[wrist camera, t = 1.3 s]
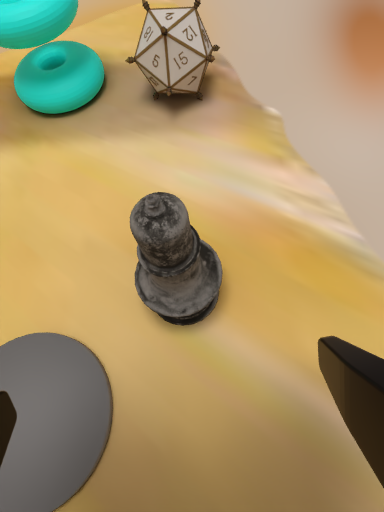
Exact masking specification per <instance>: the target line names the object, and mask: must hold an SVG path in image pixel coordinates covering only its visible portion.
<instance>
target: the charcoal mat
mask: <svg viewBox="0 0 384 512" xmlns="http://www.w3.org/2000/svg"><path fill="white" fill-rule="evenodd" d="M2 390H3V391H6V392H7V393H8V394H9V396H10V398H11V401H12V403H13V405H14V407H15V409H16V412H17V421H16V424H15V427H14V430H13V433H12V436H11V439H10V441H9V444H8V447H7V450H6V453H5V456H4V459H3V462H2V465H1V468H0V512H52V511H54V510H55V509H57V508H58V507H59V506H61V505H62V504H64V503H65V502H66V501H68V500H69V499H70V498H71V497H72V496H73V495H74V494H76V492H77V491H78V490H79V489H80V488H81V487H82V486H83V485H84V484H85V482H86V481H87V479H88V478H89V477H90V475H91V474H92V473H93V471H94V469H95V467H96V466H97V464H98V462H99V460H100V458H101V456H102V453H103V451H104V449H105V446H106V443H107V440H108V437H109V432H110V427H111V422H112V411H113V407H112V393H111V387H110V383H109V380H108V376H107V374H106V372H105V370H104V367H103V366H102V364H101V362H100V361H99V359H98V358H97V357H96V356H95V354H94V353H93V352H92V351H91V350H90V349H88V348H87V347H86V346H85V345H83V344H81V343H80V342H78V341H76V340H74V339H72V338H69V337H67V336H64V335H60V334H56V333H34V334H28V335H25V336H22V337H18V338H16V339H14V340H11V341H9V342H7V343H5V344H4V345H2V346H0V391H2Z"/></svg>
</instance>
